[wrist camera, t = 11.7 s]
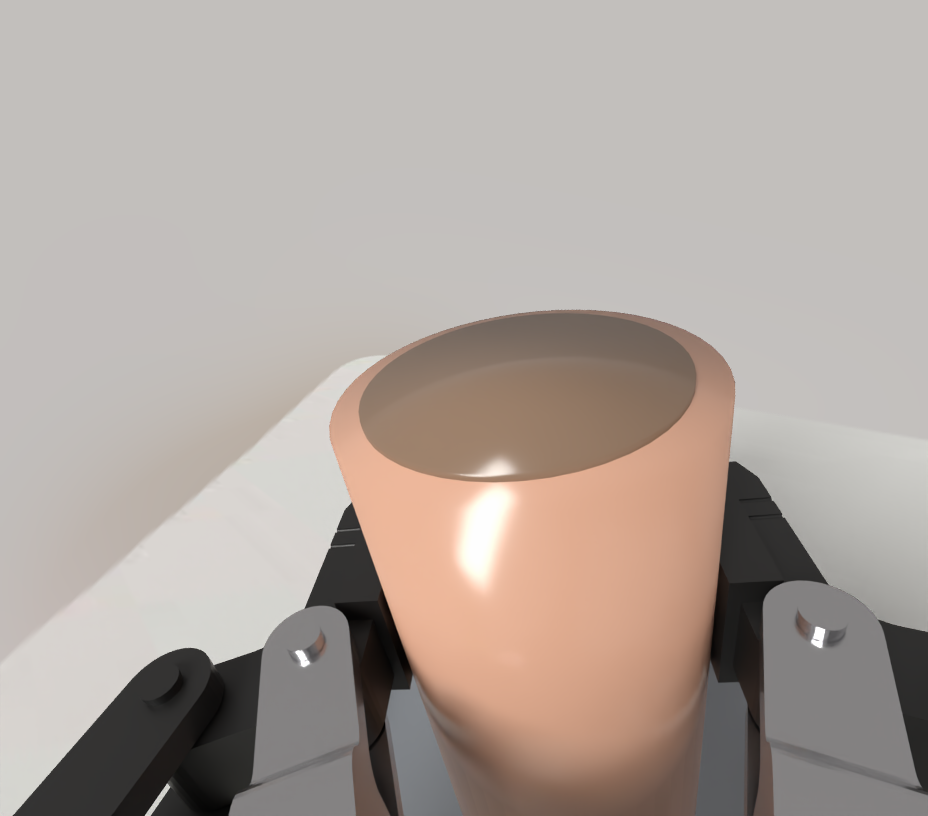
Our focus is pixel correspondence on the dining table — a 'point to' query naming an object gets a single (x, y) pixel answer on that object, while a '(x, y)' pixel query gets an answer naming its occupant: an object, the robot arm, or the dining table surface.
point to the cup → (550, 550)
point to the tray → (436, 805)
